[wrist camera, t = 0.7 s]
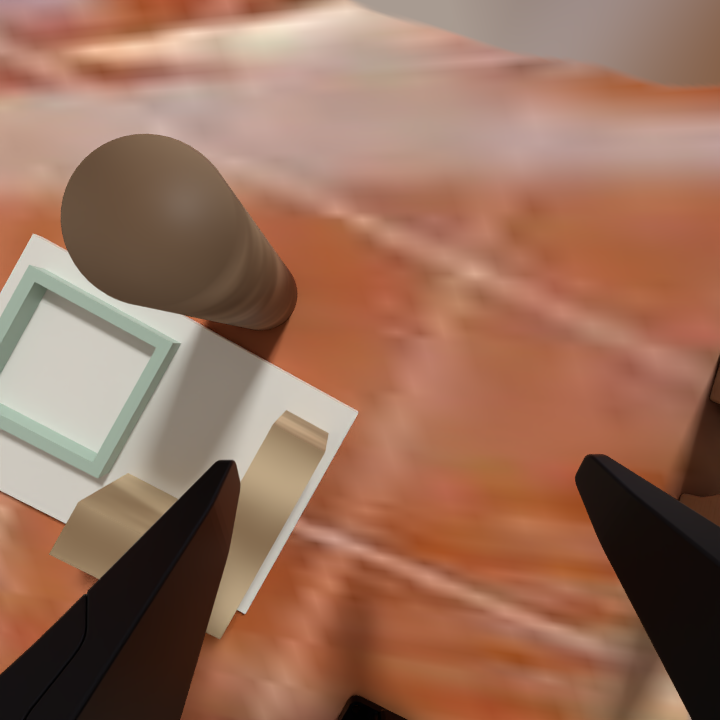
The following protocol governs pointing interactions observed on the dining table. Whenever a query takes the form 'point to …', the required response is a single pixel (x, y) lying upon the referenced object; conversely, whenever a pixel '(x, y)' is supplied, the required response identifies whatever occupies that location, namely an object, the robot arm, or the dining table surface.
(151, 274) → the walnut column
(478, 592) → the dining table surface
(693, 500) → the wooden toy
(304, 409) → the board
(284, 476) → the tan l-shaped block
